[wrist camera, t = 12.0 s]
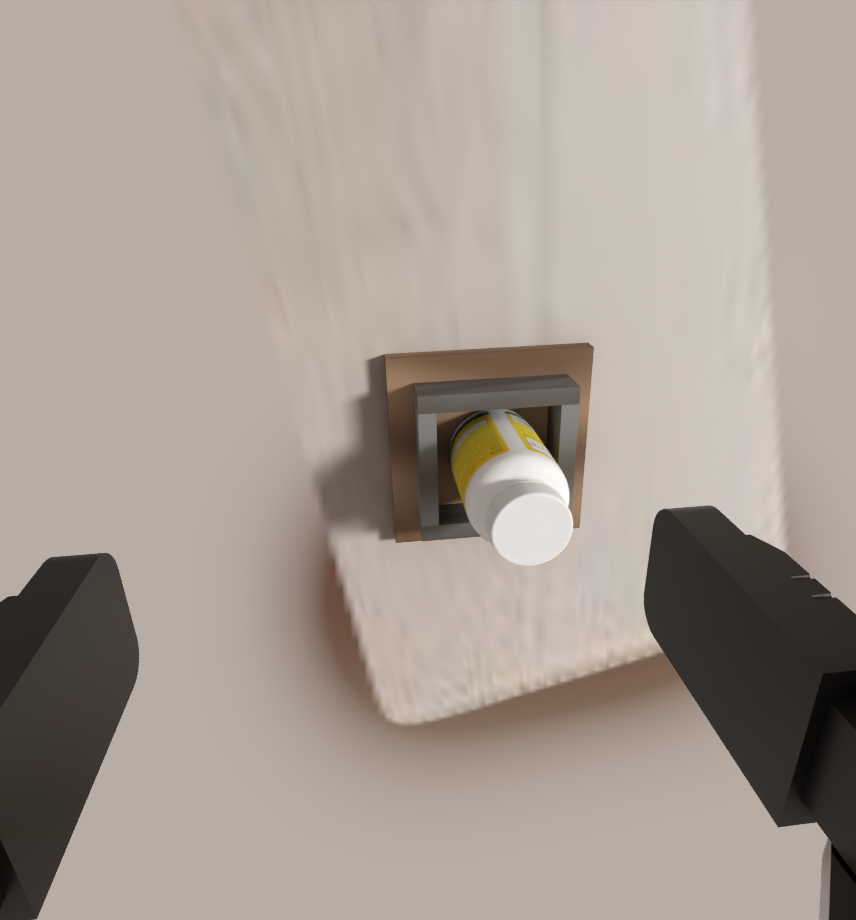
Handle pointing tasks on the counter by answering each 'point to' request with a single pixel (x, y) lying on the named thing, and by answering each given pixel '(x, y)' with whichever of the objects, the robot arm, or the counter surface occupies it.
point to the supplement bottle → (511, 487)
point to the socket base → (464, 393)
